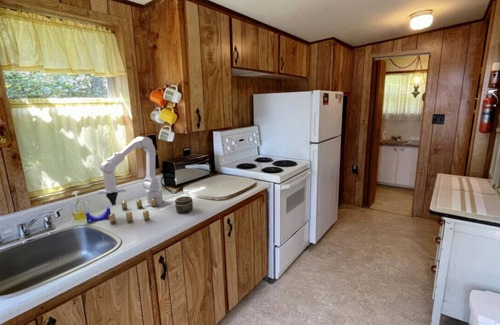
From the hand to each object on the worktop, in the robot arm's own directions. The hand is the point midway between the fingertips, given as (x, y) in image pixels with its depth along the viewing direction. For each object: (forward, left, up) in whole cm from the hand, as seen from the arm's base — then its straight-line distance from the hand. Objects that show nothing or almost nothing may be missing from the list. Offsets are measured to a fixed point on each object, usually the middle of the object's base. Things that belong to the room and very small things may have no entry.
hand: (114, 204), depth 151 cm
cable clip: (+8, +2, -8) cm, 11 cm away
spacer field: (-11, 0, -7) cm, 13 cm away
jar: (-40, +2, -7) cm, 41 cm away
